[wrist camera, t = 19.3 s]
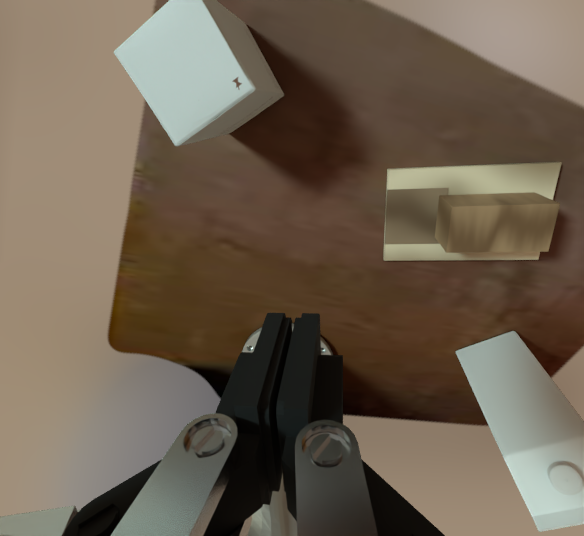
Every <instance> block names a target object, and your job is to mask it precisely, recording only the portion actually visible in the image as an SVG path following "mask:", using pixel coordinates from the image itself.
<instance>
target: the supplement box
mask: <svg viewBox="0 0 584 536" xmlns="http://www.w3.org/2000/svg"><path fill="white" fill-rule="evenodd" d="M114 54H115V55H116V57H117V58H118V60H119V61H120V62H121V64H122V65H123V67H124V68H125V70H126V71H127V73H128V74H129V76H130V77H131V79H132V80H133V82H134V83H135V85H136V86H137V88H138V89H139V91H140V92H141V93H142V95H143V97H144V98H145V100H146V101H147V103H148V104H149V106H150V108H151V109H152V111H153V112H154V114H155V115H156V117H157V118H158V120H159V121H160V123H161V125H162V126H163V128H164V129H165V131H166V132H167V134H168V135H169V137H170V139H171V140H172V142H173V143H174V145H175V146H181V145H186V144H191V143H194V142H198V141H202V140H206V139H210V138H214V137H217V136H222V135H226V134H229V133H231V132H233V131H234V130H236V129H237V128H239V127H240V126H242V125H243V124H245V123H246V122H248V121H249V120H250V119H252V118H253V117H255V116H256V115H258V114H259V113H260V112H262V111H263V110H265V109H266V108H267V107H269V106H270V105H272V104H273V103H275V102H276V101H277V100H279V99H280V98H282V97H283V96H284V93H283V91H282V90H281V88H280V86H279V84H278V82H277V80H276V78H275V77H274V75H273V73H272V71H271V69H270V67H269V66H268V64H267V62H266V60H265V58H264V56H263V54H262V53H261V51H260V49H259V47H258V45H257V44H256V42H255V40H254V38H253V36H252V34H251V33H250V31H249V29H248V27H247V26H246V24H245V23H244V22H243V21H242V20H240V19H239V18H238V17H236V16H235V15H234V14H233V13H231V12H230V11H229V10H227V9H226V8H225V7H224V6H222V5H221V4H220V3H219V2H217V1H216V0H169V1H168V2H167V3H166V4H165V5H164V6H163V7H162V8H161V9H159V10H158V11H157V12H156V13H155V14H154V15H153V16H152V17H151V18H150V19H149V20H147V22H145V23H144V24H143V25H142V26H141V27H140V28H139V29H138V30H137V31H135V32H134V33H133V34H132V35H131V36H130V37H129V38H128V39H127V40H126V41H125V42H124V43H122V44H121V46H119V47H118V48H117V49H116V50H115V51H114Z"/></svg>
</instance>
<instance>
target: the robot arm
mask: <svg viewBox="0 0 584 536" xmlns="http://www.w3.org/2000/svg"><path fill="white" fill-rule="evenodd" d="M0 536H445V535H444V534H442V533H441V532H440V531H439V530H438V529H437V528H436V527H435V526H434V525H433V524H432V523H431V522H429V521H428V520H427V519H426V518H425V517H424V516H423V515H422V514H421V513H420V512H418V511H417V510H416V509H415V508H414V507H413V506H412V505H411V504H410V503H408V501H406V500H405V499H404V498H403V497H402V496H401V495H400V494H399V493H398V492H397V491H396V490H394V489H393V488H392V487H391V486H390V485H389V484H388V483H386V482H385V480H383V479H382V478H381V477H380V476H379V475H378V474H377V473H376V472H375V471H374V470H372V469H371V468H370V467H369V466H368V465H367V464H366V463H365V462H364V461H363V460H362V459H361V455H360V451H359V446H358V442H357V440H356V438H355V435H354V434H353V433H352V431H351V430H350V429H349V428H348V427H346V426H345V425H343V355H333V353H332V351H331V349H330V347H329V345H328V344H327V343H326V341H325V340H324V339H323V338H322V337H321V336H320V315H319V314H309V313H303V314H302V317H301V318H296V319H295V323H294V324H293V323H292V320H291V318H286V316H285V313H267V316H266V318H265V321H264V324H263V327H262V328H260V329H258V330H257V331H255V332H254V333H253V334H252V335H251V336H250V337H249V338H248V340H247V341H246V344H245V346H244V348H243V351H242V353H241V354H240V355H239V357H238V360H237V362H236V365H235V367H234V369H233V372H232V374H231V377H230V379H229V381H228V384H227V386H226V389H225V391H224V393H223V396H222V398H221V401H220V403H219V405H218V408H217V411H216V413H212V414H206V415H203V416H200V417H198V418H196V419H194V420H193V421H191V422H190V423H189V424H187V425H186V426H185V427H184V429H183V430H182V431H181V432H180V434H179V435H178V437H177V438H176V440H175V441H174V443H173V444H172V446H171V447H170V449H169V450H168V451H167V453H166V455H165V456H164V457H163V459H162V460H160V461H158V462H157V463H155V464H153V465H152V466H150V467H148V468H146V469H145V470H143V471H141V472H140V473H138V474H136V475H135V476H133V477H131V478H129V479H128V480H126V481H124V482H123V483H121V484H119V485H118V486H116V487H115V488H112V489H111V490H109V491H107V492H106V493H104V494H102V495H101V496H99V497H97V498H95V499H94V500H92V501H91V502H90V503H88V504H87V505H86V506H84V507H83V508H82V509H81V510H77V509H76V507H75V506H69V507H62V508H56V509H50V510H42V511H36V512H29V513H22V514H16V515H9V516H2V517H0Z"/></svg>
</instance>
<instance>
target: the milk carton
mask: <svg viewBox="0 0 584 536" xmlns="http://www.w3.org/2000/svg"><path fill="white" fill-rule="evenodd" d="M456 354H457V357H458V359H459V361H460V363H461V365H462V368H463V370H464V372H465V374H466V376H467V379H468V381H469V383H470V385H471V387H472V390H473V392H474V394H475V396H476V398H477V401H478V403H479V405H480V407H481V409H482V412H483V414H484V416H485V418H486V420H487V423H488V425H489V427H490V429H491V431H492V434H493V436H494V438H495V440H496V442H497V445H498V446H499V449H500V451H501V453H502V456H503V458H504V460H505V462H506V464H507V466H508V468H509V470H510V472H511V474H512V476H513V478H514V480H515V483H516V485H517V487H518V489H519V491H520V493H521V495H522V497H523V499H524V501H525V503H526V505H527V507H528V509H529V512H530V513H531V516H532V518H533V520H534V522H535V524H536V526H537V529H538V531H539V532H541V531H547V530H552V529H558V528H564V527H569V526H575V525H581V524H584V421H583V420H582V418H581V417H580V416H579V414H578V413H577V412H576V410H575V409H574V408H573V406H572V405H571V404H570V402H569V401H568V400H567V399H566V397H565V396H564V395H563V393H562V392H561V391H560V389H559V388H558V387H557V386H556V384H555V383H554V381H553V380H552V379H551V378H550V376H549V375H548V374H547V372H546V371H545V370H544V368H543V367H542V366H541V364H540V363H539V362H538V360H537V359H536V358H535V356H534V355H533V354H532V353H531V351H530V350H529V349H528V347H527V346H526V345H525V343H524V342H523V341H522V339H521V338H520V337H519V335H518V334H517V333H516V332H515V331H511V332H508V333H505V334H503V335H500V336H497V337H494V338H491V339H488V340H485V341H483V342H480V343H477V344H474V345H471V346H468V347H466V348H463V349H460V350H457V351H456Z"/></svg>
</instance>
